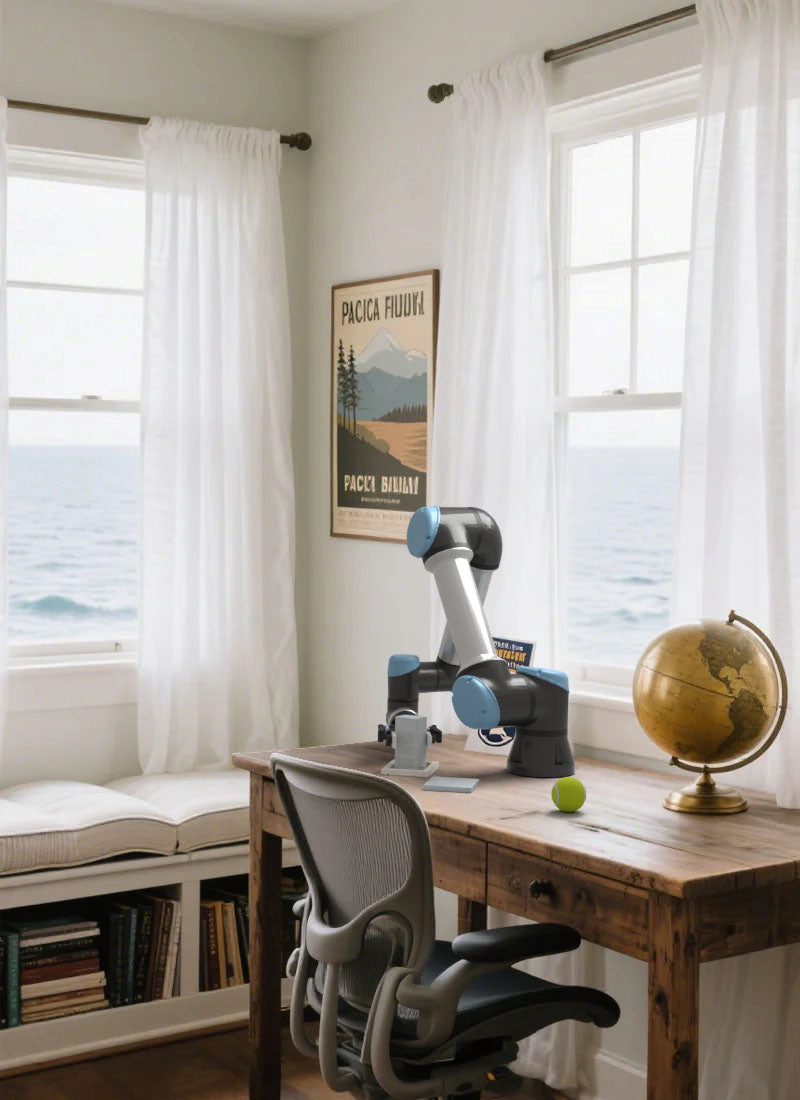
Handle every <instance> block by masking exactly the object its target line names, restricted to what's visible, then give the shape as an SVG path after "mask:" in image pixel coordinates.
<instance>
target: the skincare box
mask: <svg viewBox="0 0 800 1100" xmlns="http://www.w3.org/2000/svg"><path fill="white" fill-rule="evenodd" d="M427 728H428V717H427V716H424V715H423V716H422V715H421V716H420V715H418V716H414V715H401V716H396V717H395V733H396V736H397V742H396V748H394V759H395V768H394V769H408V770H425V769H426V768H427V767H426V761H427V749H428V747H427Z"/></svg>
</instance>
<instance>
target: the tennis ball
mask: <svg viewBox="0 0 800 1100" xmlns="http://www.w3.org/2000/svg"><path fill="white" fill-rule="evenodd" d="M586 791H587V790H586V788H585V786H584V784H583V783H582V782H581V780H579V779H577V778H575V777H571V776H564V777H561V778H560V779H558V780H557V781H556V782H555V783H554V785H552V789H551V800H552V802H553V804H554V805H555V807H557V809H559V810H560V811H563V812H565V813H572V812H576V811H578V810H580V809H581V808H582V807H583V805H585V802H586V800H587V792H586Z"/></svg>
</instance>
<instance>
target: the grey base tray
mask: <svg viewBox="0 0 800 1100" xmlns="http://www.w3.org/2000/svg"><path fill="white" fill-rule="evenodd" d="M439 768H440V761H431V760H430V761H429V760H426V769H425V770H408V769H395V758H394V759H392V760H391V761H389V762H388V763H387V764H385V765H384V766H383V767H382V768H380V775H382V774H384V776H385V775H386V776H398V777H399V776H402V777H417V778H429V777H431V775H432V774H433V773H435V771H437V770H438V769H439ZM387 774H389V775H387Z"/></svg>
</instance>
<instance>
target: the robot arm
mask: <svg viewBox="0 0 800 1100" xmlns="http://www.w3.org/2000/svg"><path fill="white" fill-rule="evenodd" d="M406 546H407V549H408V552H409V553H410V555H412V556H413V557H414V558H416V559H421V561H422V564H423V567H424V570H426V571H427V572H429V573H430V574H433V577H434V582H435V585H436V587H437V591H438V594H439V597H440V601H441V605H442V609H443V611H444V615H445V618H446V623H445V626H444V631H443V634H442V638H441V641H440V645H439V649H438V653H437V657H436V659H435V661H434V660H432V661H420V657H419V655H416V654H411V653H410V654H409V653H407V654H406V653H404V654H403V653H402V654H401V653H400V654H399V653H398V654H392V655H391V656H389V659H388V664H387V665H388V666H387V703H386V706H387V707H386V709H387V710H386V714H385V717H386V718H385V721H386V725H384V724H382V723H379V724H377V743H383V742H384V741H385V746H386V747H392V749H395V748H396V742H397V736H396V733H395V717H396V716H401V715H414V716H419V701H420V700H419V698H420V694H425V693H426V694H428V693H443V692H445V693H446V692H450V693H452V696H451V703H452V707H453V710H454V713H455V714H456V717H457V718H458V720H459V721H460V722H461V723H462V724H463V725H464V726H466V727H468V728H469V729H473V730H485V731H487V730H493V729H503V728H514V729H515V730H514V731H515V733H514V734H515V735H514V738H513V741H512V745H511V747H510V751H509V753H508V755H507V756H508V757H507V758H506V759H507V760H506V771H507V772H508V773H511V774H513V775H518V776H526V777H534V778H558V777H559V778H560V777H561V778H563V777H569V776H571V775H573V774H575V772H576V763H575V758H574V756H573V755H574V754H573V751H572V749H571V745H570V742H569V741H570V740H569V738H568V734H569V733H568V731H569V726H568V725H569V696H570V695H569V694H570V687H569V686H570V685H569V677H568V675H567V674H566V673H565V672H564V671H560V670H555V669H547V668H542V667H533V666H524V665H518V666H516V670H515V673H511V671H510V668H509V665H508V662H507V660H506V659H504V658H502V657H499V656H498V652H497V650H496V646H495V643H494V639H493V636H492V633H491V630H490V626H489V623H488V620H487V617H486V614H485V610H484V605H485V601H486V597H487V595H488V590H489V587H490V584H491V580H492V577H493V573H494V572H495V571H498V569H499V567H500V564H501V561H502V556H503V537H502V533H501V530H500V527H499V525H498V524H497V521H496V519H494V517H493V516H492V515H491V514H490V513H488V511H487V510H484V509H482V508H479V507H475V506H466V507H465V506H438V505H433V506H423V507H420V508H418V509H417V510H415V512H413V514H412V515H411V518H410V519H409V522H408V526H407V529H406ZM442 742H443V731H442V730H441V729H440V728H438V727H437V725H435V724H432V725H428V727H427V749H431V750H432V749H433V744H436V743H438V744H441V743H442Z"/></svg>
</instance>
